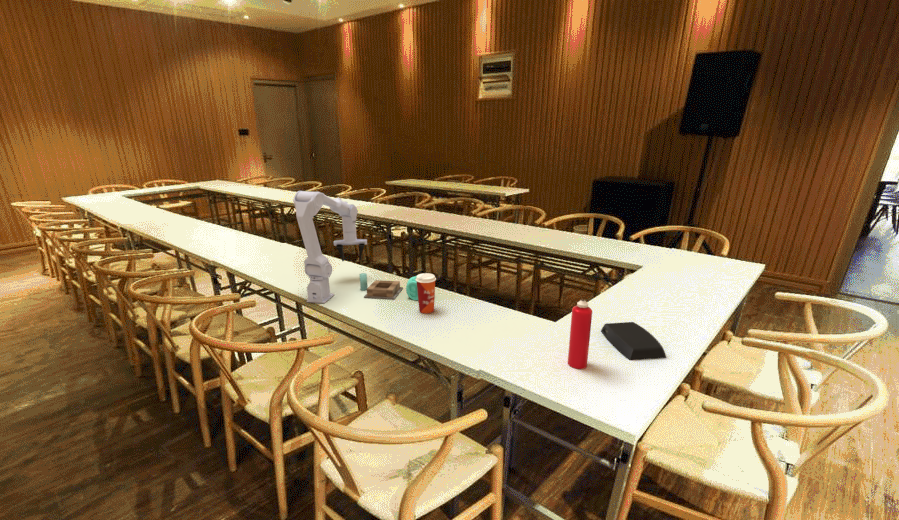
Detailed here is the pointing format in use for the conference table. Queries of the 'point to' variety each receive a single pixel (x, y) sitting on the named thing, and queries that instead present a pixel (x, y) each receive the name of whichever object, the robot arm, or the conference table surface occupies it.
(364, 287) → the peg
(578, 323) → the bottle
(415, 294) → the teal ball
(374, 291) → the socket
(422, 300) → the paper cup
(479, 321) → the conference table surface
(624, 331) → the external hard drive
